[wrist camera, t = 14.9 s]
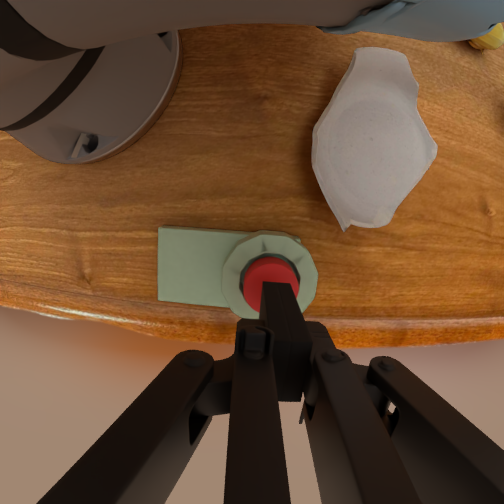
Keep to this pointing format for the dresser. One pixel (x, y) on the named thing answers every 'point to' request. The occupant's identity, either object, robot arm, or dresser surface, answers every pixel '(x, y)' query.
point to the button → (266, 278)
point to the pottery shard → (371, 140)
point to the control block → (225, 265)
